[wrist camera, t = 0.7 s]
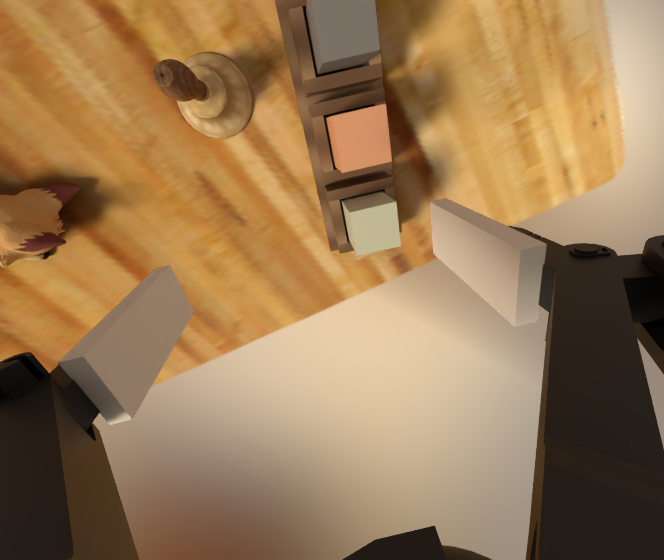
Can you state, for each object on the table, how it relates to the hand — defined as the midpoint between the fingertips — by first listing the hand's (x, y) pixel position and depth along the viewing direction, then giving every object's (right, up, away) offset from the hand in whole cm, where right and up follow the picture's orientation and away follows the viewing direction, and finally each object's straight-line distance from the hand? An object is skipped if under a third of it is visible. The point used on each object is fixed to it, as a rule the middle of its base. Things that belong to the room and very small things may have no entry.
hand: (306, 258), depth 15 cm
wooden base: (+3, +17, +22) cm, 28 cm away
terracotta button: (+3, +15, +19) cm, 24 cm away
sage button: (+5, +7, +23) cm, 25 cm away
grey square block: (+2, +23, +15) cm, 27 cm away
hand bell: (-12, +20, +19) cm, 30 cm away
